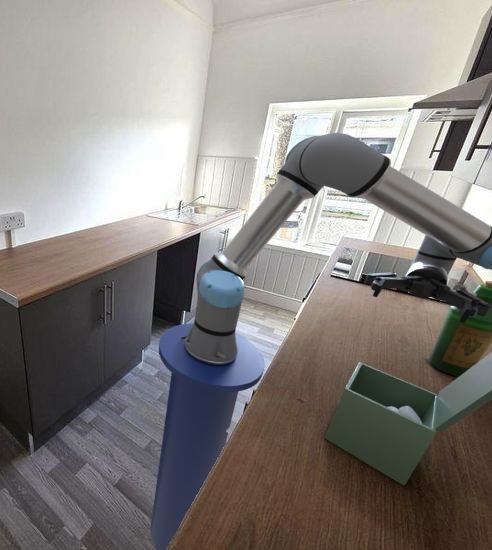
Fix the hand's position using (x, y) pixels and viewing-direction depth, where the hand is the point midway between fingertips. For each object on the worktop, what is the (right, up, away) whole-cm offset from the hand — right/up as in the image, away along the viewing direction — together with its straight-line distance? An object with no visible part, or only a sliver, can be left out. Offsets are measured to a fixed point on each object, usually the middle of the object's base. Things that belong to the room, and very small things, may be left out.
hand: (417, 302), depth 61 cm
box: (-8, -30, +3) cm, 31 cm away
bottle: (+37, -23, +28) cm, 52 cm away
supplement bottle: (-9, -28, +3) cm, 29 cm away
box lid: (-1, -13, -10) cm, 17 cm away
